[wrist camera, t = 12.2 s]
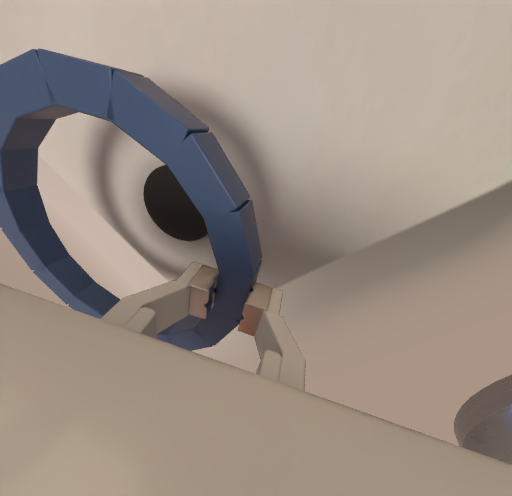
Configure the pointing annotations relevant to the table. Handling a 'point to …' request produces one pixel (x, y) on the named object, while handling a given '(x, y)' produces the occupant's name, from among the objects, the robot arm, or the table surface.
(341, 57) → the table surface
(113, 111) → the ring
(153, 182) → the mat
